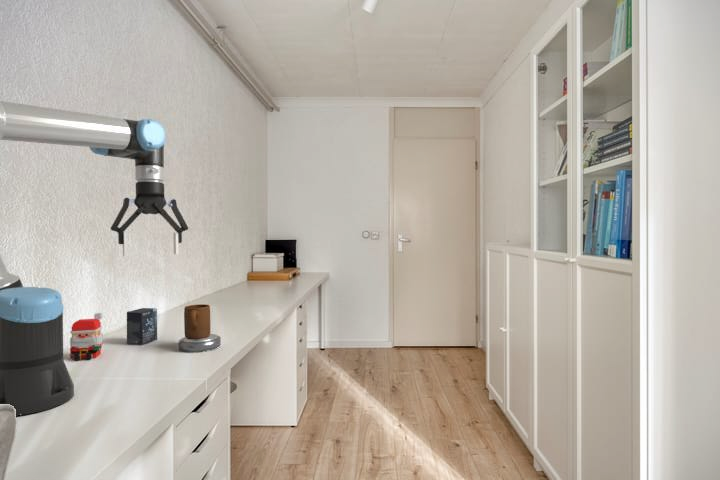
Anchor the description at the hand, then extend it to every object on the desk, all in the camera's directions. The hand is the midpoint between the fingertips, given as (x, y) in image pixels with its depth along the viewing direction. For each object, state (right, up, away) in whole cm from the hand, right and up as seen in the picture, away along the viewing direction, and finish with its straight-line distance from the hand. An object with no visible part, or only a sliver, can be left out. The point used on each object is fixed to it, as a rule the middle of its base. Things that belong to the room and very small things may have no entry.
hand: (151, 255), depth 128 cm
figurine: (-17, -29, -2) cm, 34 cm away
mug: (+11, -26, +6) cm, 29 cm away
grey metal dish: (+12, -28, +7) cm, 32 cm away
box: (-10, -29, +15) cm, 34 cm away
